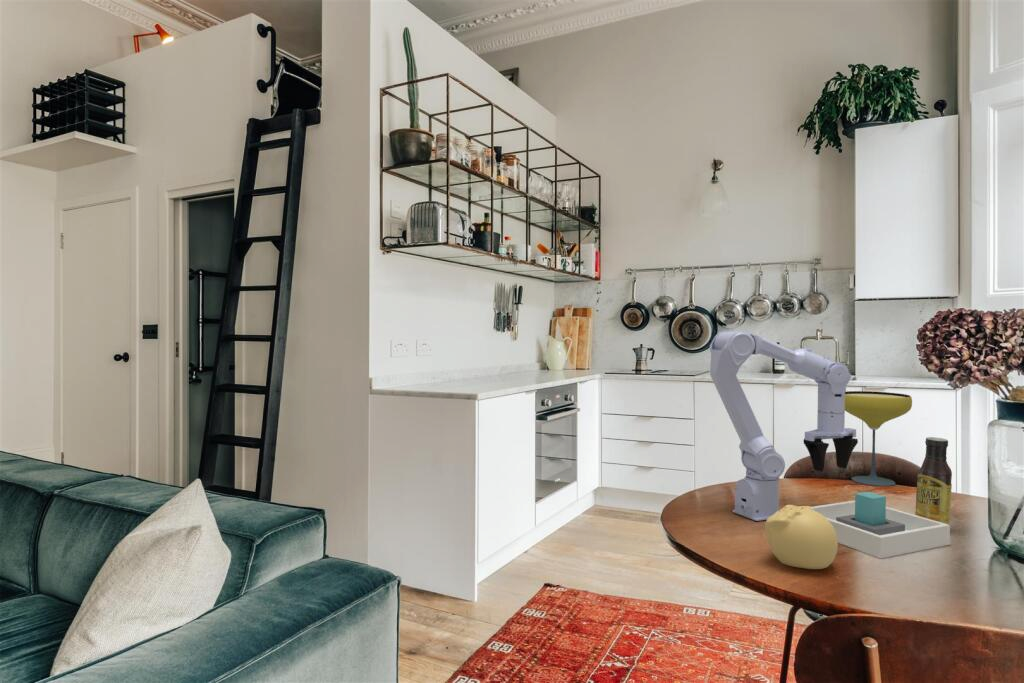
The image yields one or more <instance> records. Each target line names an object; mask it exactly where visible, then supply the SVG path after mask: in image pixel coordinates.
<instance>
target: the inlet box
mask: <svg viewBox="0 0 1024 683" xmlns="http://www.w3.org/2000/svg"><path fill="white" fill-rule="evenodd" d="M810 507H811V509H812V510H814V511H816V512H818V513H820V514H822V515H823V516H824V517H826V518H827V519H828V520H829V521H830V523H831V524H832V525H833V527H834V529H835V531H836V534H837V539H838V544H841V545H843V546H845V547H849V548H852V549H854V550H856V551H860V552H863V553H865V554H868V555H871V556H873V557H876V558H878V559H886V558H889V557H896V556H901V555H906V554H911V553H915V552H920V551H926V550H930V549H934V548H939V547H946V546H950V544H951V524H949V525H948V524H945V523H941V522H938V521H934V520H931V519H927V518H924V517H920V516H917V515H915V514H913V513H911V512H905V511H902V510H899V509H896V508H891V507H889V506H886V524H883V525H878V526H870V525H867V524H864V523H861V522H858V521H855V499H854V500H849V501H848V500H847V501H840V502H835V503H834V502H833V503H828V504H823V505H822V504H821V505H815V506H810Z"/></svg>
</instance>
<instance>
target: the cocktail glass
mask: <svg viewBox="0 0 1024 683" xmlns="http://www.w3.org/2000/svg"><path fill="white" fill-rule="evenodd" d="M912 407H913V399H912V395H909V394H906V393H900V392H899V393H897V392H889V391H888V392H887V391H885V392H884V391H871V390H870V391H867V390H866V391H865V390H864V391H863V390H854V391H853V390H850V391H847V390H846V391H845V413H846V412H847V413H848V414H850V415H852V416H853V417H855V418H857V419H859V420H861V421H862V422H863V423H865V424H866V426H867V427H868V429H870V430H872V443H871V444H872V455H871V456H872V457H871V470H870V473H869V475H857V476H852V477H851V480H852V481H853V482H855V483H858V484H863V485H866V486H874V487H892V486H895V485H896V482H895V481H894V480H892V479H890V478H885V477H881V476H878V475H877V471H876V430H878V429H880V427H882V425H883V424H885V423H887V422H889V421H892V420H894V419H896V418H899V417H901V416H904V415H905V414H907V413H908V412H911V410H912Z"/></svg>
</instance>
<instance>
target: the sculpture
mask: <svg viewBox="0 0 1024 683" xmlns="http://www.w3.org/2000/svg"><path fill="white" fill-rule="evenodd" d="M811 507H812V506H811V505H801V506H800V505H799V506H797V505H794V504H786V505H784V506H783V507H781V508H779V511H777V512H775V514H774V515H772V516H770V517H769V518H768V519H767V520H765V524H764V526H765V537H766V541H767V542H768V544H769V546H770V549H771V551H772V553H773V554H774V556H775V557H776V559H777V560H778V561H779V562H780V563H781V564H783V565H786V566H789V567H795V568H800V569H808V570H823V569H826V568H828V567H829V566H830V565H831V564H832V563H833V562H834V560H835V558H836V555H837V553H838V546H839V543H838V539H837V534H836V531H835V529H834V527H833V525H832V524H831V523H830V521H829V520H828V519H827V518H826V517H824V516H823V515H822V514H820V513H818V512H816V511H814V510H812V509H811Z"/></svg>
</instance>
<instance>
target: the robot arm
mask: <svg viewBox="0 0 1024 683" xmlns="http://www.w3.org/2000/svg"><path fill="white" fill-rule="evenodd" d="M709 352H710V365H709V366H710V369H709V373H710V377H711V379H712V382H713V384H714V386H715V388H716V391H717V393H718V395H719V398H720V399H721V401H722V404H723V406H724V408H725V410H726V412H727V414H728V416H729V419H730V421H731V423H732V425H733V428H734V429H735V432H736V433H737V436H738V438H739V440H740V443H739V445H738V448H739V449H740V453H741V458H740V460H741V463H742V465H743V467H745V471H746V472H745V476H744V478H741V479H739V480H737V481H736V483H735V487H734V509H732V513H734V514H737V515H740V516H742V517H745V518H748V519H751V520H753V521H756V522H759V521H761V522H762V521H766V520H767V519H768V518H769V517H770V516H772V515H774V514H775V512H777V511H779V510H780V508H779V507H780V505H779V504H780V489H779V488H780V477H781V476H782V475H783V474H784V472H785V469H786V461H785V459H784V458H783V456H782V455H781V454H780V453H779V452H777V451H776V449H775V448H774V445H773V444H772V443H771V442H770V441H769V440H768V438H767V437H766V436H765V435H764V433H763V431H762V428H761V426H760V425H759V422H758V420H757V417H756V416H755V413H754V412H753V409H752V407H751V405H750V403H749V401H748V398H747V396H746V394H745V392H744V390H743V386H742V385H741V383H740V381H739V379H738V376H737V374H738V373H739V370H740V369H741V368H740V367H742V366H743V364H744V363H745V362H746V361H747V360H748V359H749V358H750V357H751V355H762V356H765V357H769V358H771V359H774V360H777V361H780V362H783V363H785V364H787V366H788V368H789V370H790V371H791V372H792V373H795V374H799V375H801V376H804V377H806V378H809V379H812V380H813V381H814V382H815V383H816V384H817V425H816V426H817V427H816V429H812V430H809V431H804V439H803V444H804V446H805V447H806V450H807V452H808V454H809V456H810V460H811V463H812V466H813V470H814V471H818V472H824V469H825V462H826V458H825V457H826V453H827V451H828V448H829V445H830V443H827V442H824V440H830V439H831V440H832V441H833V442H832V443H833V445H834V446H833V447H834V449H835V463H836V467H837V468H840V469H844V470H845V469H847V468H848V464H849V461H850V459H851V456H852V453H853V451H854V449H855V448H856V446H857V444H858V443H859V442H858V440H859V439H858V438H856V437H857V429H856V428H850V427H845V413H846V411H845V392H846V391H847V386H848V384H849V383H850V380H851V378H852V373H850V371H849V369H848V367H847V366H846V364H844V363H842V362H838V361H831V360H830V357H829V356H826V355H823V356H822V355H818V354H816V353H813V350H812V349H811V348H808V347H804V348H798V349H795V350H792V349H790V348H787V347H785V346H783V345H781V344H778V343H777V342H775V341H772V340H769V339H767V338H765V337H763V336H761V335H757V334H753V333H749V332H747V331H743V330H742V331H740V330H739V331H729V330H724V331H723V330H722V331H720V332H718V333H717V334H716V335H715V336H714V337H713V339H712V340H711V342H710V345H709Z"/></svg>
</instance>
